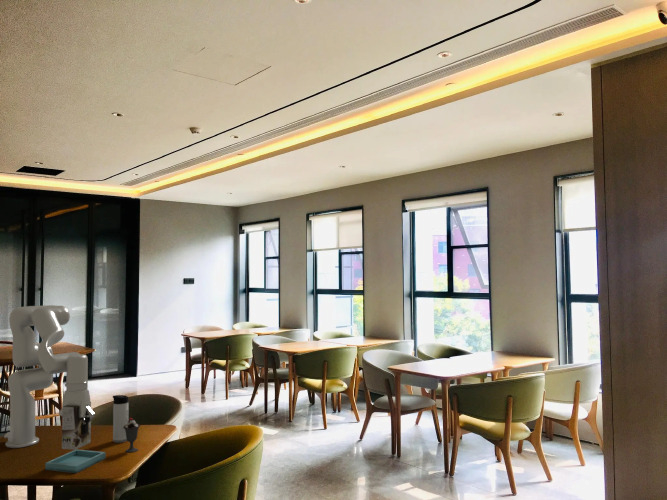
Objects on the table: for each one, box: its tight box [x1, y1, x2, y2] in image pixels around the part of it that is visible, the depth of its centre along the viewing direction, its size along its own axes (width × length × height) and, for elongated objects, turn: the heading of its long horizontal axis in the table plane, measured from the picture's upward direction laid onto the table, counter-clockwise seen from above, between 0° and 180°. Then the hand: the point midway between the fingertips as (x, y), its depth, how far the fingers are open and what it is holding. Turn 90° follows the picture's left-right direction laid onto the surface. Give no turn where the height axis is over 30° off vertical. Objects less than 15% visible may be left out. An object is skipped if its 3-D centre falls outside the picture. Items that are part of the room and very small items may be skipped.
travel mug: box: [112, 394, 130, 444], centre depth 240 cm, size 6×7×20 cm
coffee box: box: [61, 401, 92, 451], centre depth 212 cm, size 9×6×16 cm
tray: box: [44, 449, 107, 474], centre depth 211 cm, size 14×16×2 cm
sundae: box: [123, 413, 141, 454], centre depth 227 cm, size 7×7×15 cm
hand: (76, 432), depth 211 cm, fingers closed on coffee box, 6 cm apart
